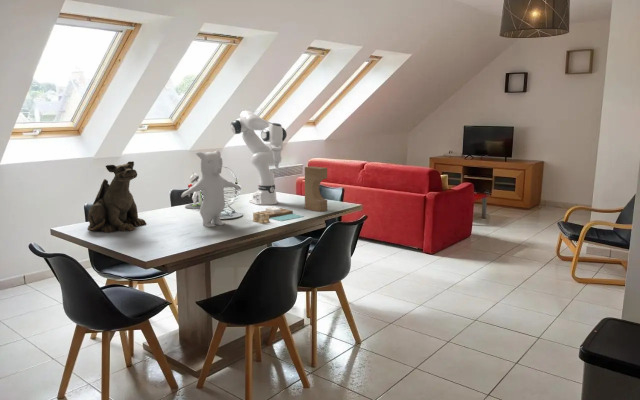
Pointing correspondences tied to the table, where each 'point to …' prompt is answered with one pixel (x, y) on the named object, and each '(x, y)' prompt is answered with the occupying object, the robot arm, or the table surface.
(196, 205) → the figurine
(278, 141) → the robot arm
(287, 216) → the mat
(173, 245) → the table surface
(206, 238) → the table surface
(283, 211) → the deck
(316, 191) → the decorative block
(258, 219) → the oak rack
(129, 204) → the sculpture
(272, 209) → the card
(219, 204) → the toy bear
